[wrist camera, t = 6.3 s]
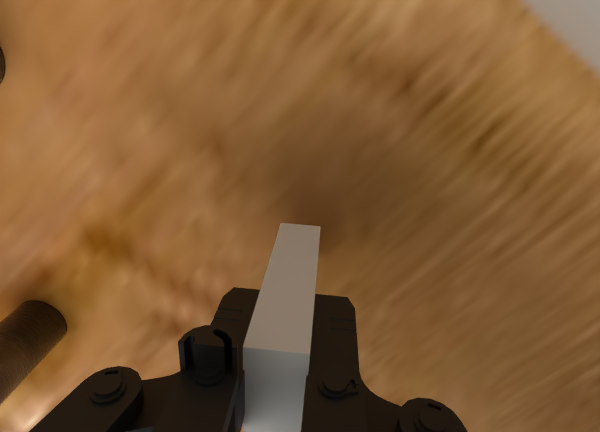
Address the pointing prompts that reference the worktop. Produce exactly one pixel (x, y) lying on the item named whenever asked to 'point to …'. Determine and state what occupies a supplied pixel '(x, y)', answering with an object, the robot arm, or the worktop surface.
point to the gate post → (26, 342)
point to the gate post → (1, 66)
